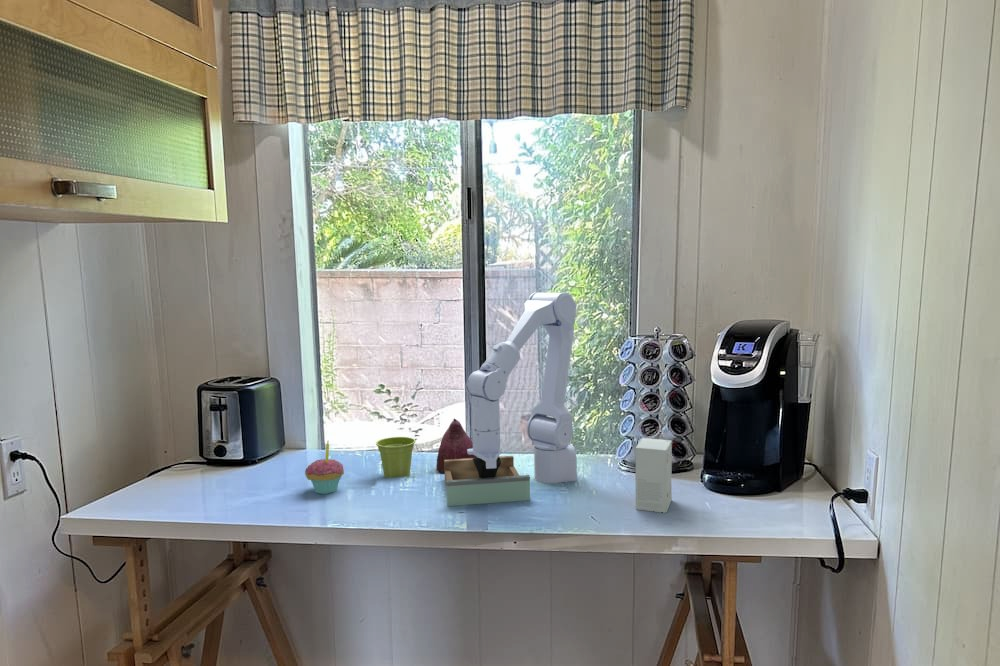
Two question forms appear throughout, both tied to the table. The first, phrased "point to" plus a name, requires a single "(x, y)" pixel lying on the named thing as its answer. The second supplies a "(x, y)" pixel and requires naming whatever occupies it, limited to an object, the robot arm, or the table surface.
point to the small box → (653, 474)
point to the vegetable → (454, 445)
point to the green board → (488, 490)
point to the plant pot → (396, 456)
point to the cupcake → (325, 474)
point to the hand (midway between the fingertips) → (487, 492)
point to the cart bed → (468, 470)
